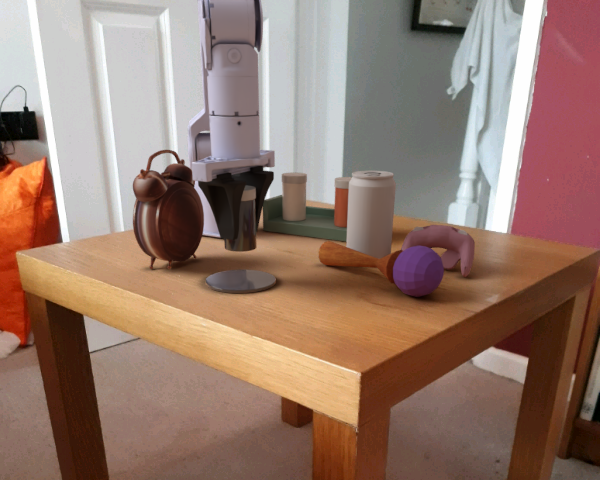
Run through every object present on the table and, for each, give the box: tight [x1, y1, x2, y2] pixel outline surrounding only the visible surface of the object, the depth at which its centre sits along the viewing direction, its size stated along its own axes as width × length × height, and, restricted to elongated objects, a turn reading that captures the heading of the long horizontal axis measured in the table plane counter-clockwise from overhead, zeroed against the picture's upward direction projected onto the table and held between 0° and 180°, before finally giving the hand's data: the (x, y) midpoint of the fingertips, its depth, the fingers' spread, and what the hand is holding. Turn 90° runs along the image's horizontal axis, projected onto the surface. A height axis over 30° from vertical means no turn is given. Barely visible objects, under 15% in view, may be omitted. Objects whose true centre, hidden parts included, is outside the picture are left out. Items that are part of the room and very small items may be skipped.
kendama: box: [318, 240, 445, 298], centre depth 81 cm, size 6×6×20 cm
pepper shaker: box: [223, 185, 258, 253], centre depth 78 cm, size 4×4×7 cm
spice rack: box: [262, 194, 347, 243], centre depth 106 cm, size 18×9×5 cm, turn 61°
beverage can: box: [345, 170, 397, 259], centre depth 88 cm, size 6×6×12 cm
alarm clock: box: [132, 149, 204, 270], centre depth 85 cm, size 11×5×15 cm, turn 154°
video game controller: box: [400, 224, 476, 278], centre depth 86 cm, size 10×5×7 cm, turn 71°
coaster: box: [205, 269, 277, 294], centre depth 81 cm, size 9×9×1 cm
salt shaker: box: [281, 171, 308, 221], centre depth 106 cm, size 4×4×7 cm
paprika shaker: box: [333, 176, 353, 228], centre depth 102 cm, size 4×4×7 cm
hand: (239, 234), depth 79 cm, fingers closed on pepper shaker, 4 cm apart
